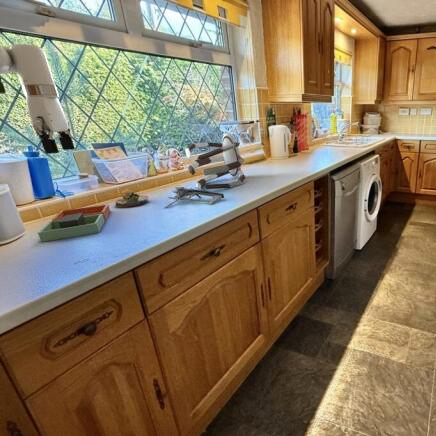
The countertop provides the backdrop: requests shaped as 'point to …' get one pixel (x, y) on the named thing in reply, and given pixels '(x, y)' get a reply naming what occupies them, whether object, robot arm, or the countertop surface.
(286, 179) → the countertop surface
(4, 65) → the robot arm
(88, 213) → the far bin
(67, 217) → the packet
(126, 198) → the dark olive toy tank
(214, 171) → the jointed toy figure
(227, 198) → the countertop surface
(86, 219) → the near bin
